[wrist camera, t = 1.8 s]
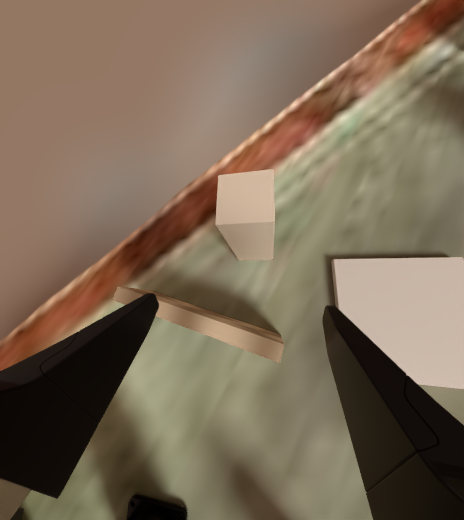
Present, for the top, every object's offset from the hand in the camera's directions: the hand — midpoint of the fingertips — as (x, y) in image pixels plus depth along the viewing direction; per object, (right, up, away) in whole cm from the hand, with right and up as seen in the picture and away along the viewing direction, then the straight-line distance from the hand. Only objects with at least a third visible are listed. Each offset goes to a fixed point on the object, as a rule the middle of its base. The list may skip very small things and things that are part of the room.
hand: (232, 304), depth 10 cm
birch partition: (-3, -5, +14) cm, 15 cm away
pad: (+18, -4, +10) cm, 20 cm away
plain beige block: (+3, +4, +15) cm, 16 cm away
